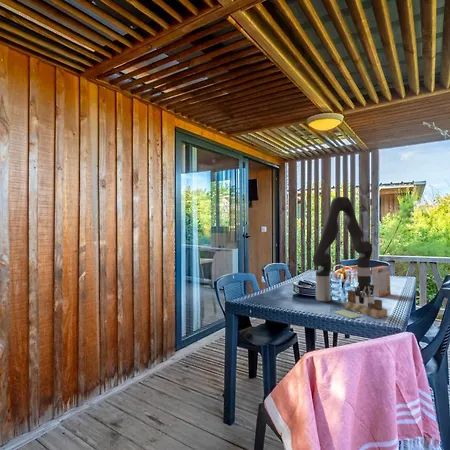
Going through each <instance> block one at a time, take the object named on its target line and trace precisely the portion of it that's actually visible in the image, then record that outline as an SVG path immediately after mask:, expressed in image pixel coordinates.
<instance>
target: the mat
mask: <svg viewBox="0 0 450 450" xmlns="http://www.w3.org/2000/svg"><path fill="white" fill-rule="evenodd" d="M333 314H337V315H339V316H342V317H344V316H345V318H347V317H348V319H350V318H353V319H357V318H356V317H358V318H362V317H361V316H363V317H364V314H361V313H358V312H355V311H351V310H348V309H340V310H336V311H333Z"/></svg>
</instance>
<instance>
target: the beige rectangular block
mask: <svg viewBox="0 0 450 450" xmlns="http://www.w3.org/2000/svg"><path fill="white" fill-rule="evenodd" d="M374 300H375V296H373V295H371V296H370V295H366V293H364V294H363V304H361V303H359V297H358V296H356V304H357V305H360V306H364V307H367V308H369V305H370V304H374Z"/></svg>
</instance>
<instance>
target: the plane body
mask: <svg viewBox="0 0 450 450" xmlns="http://www.w3.org/2000/svg"><path fill="white" fill-rule="evenodd" d="M344 309H345V310H348V311H351V312H355V311H356V312H355V313H358V312H360V313H359V314H362V313H363V314H362V315H365V314H366V316H368V315H370V316H369V317H371V316H373V317H372V318H375V317H376V318H375V319H380V318H379V317H381V318H385V317H384V316H386V317H388V309H387V308H383V301H382V300H381V299H374V304H370V305H369V308H367V307H364V306H360V305H357V304H356V293H355V289H354V290H353V289H349V290H348V289H347V301H345V302H344Z"/></svg>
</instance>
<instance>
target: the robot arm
mask: <svg viewBox="0 0 450 450" xmlns="http://www.w3.org/2000/svg"><path fill="white" fill-rule="evenodd" d="M340 212H343V213H344V214H345V216H346V220H347V221H346V229H347V231H348V234H349V235H350V237H351V241H352V246H353V250H354V251H355V253H358V254H361V255H360V256H359V257H358V258H357V259H356V260H357V261H356V263H357V266H356V267H357V269H356V279H357V281H356V282H357V283H358V285H357V286H354V287H353V288H354V291H355V293H356V296H358V297H359V303H361V304H363V294H364V293H365V294H366V295H370V296H373V290H374V285H372V269H371V258H372V255H373V254H372V253H373V245H372V243H371V242H370V241H368V240H365V241H362V238H364V236H365V235H364V232H363V230H362V228H361V226H360V224H359V222H358V220H357V217H356V213H355V211H354V208H353V204H352V201H351V199H350V198H349V197H348V196H335V197H334V198H333V199H332V201H331V202H330V205H329V212H328V216H327V217H326V218H327V219H326V222H325V225H324V228H323V230H322V234H321V237H320V240H319V243H318V245H317V248H316V250H315V252H314V254H313V256H312V263H313V264H314V265H315V266H316V267H319V269H318V270H316V271H315V279H316V280H315V282H316V283H315V284H316V285H315V299H316V301H319V302H330V301H331V278H330V277H331V276H330V275H331V270H332V267H331V266H332V258H331V255H330V254H329V253H328V252H326V251H327V250H328V248H329V247H331V246H332V244H333V243H334V242H335V240H336V239H337V235H338V233H339V231H340V230H339V223H338V217H339V213H340Z"/></svg>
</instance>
